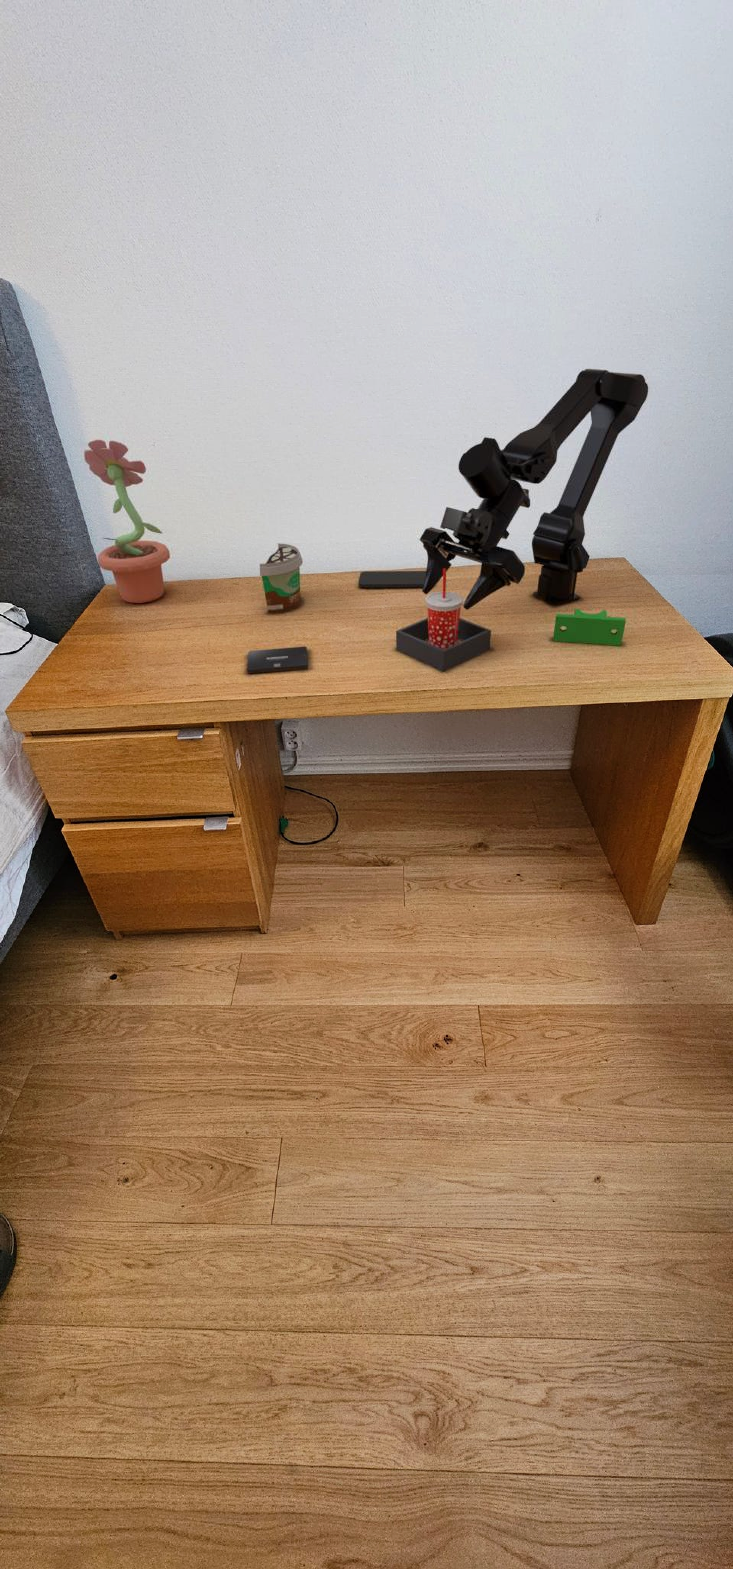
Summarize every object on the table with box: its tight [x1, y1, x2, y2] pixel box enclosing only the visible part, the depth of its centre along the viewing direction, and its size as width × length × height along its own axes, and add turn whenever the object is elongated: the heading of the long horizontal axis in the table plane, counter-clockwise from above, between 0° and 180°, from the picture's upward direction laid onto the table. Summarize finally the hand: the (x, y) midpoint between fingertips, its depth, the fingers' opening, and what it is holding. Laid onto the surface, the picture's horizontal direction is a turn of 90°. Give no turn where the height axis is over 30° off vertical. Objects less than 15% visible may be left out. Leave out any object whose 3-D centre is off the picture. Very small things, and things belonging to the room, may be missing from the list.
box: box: [395, 617, 492, 672], centre depth 117 cm, size 11×11×4 cm
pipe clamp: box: [552, 608, 627, 646], centre depth 118 cm, size 11×4×5 cm, turn 75°
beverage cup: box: [424, 568, 464, 650], centre depth 114 cm, size 6×6×14 cm
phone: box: [358, 570, 426, 589], centre depth 143 cm, size 7×1×15 cm
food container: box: [259, 543, 304, 614], centre depth 134 cm, size 12×6×10 cm, turn 168°
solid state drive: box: [246, 645, 309, 674], centre depth 117 cm, size 7×10×1 cm
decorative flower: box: [83, 439, 171, 604], centre depth 134 cm, size 15×14×30 cm
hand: (444, 600), depth 113 cm, fingers open, 9 cm apart
